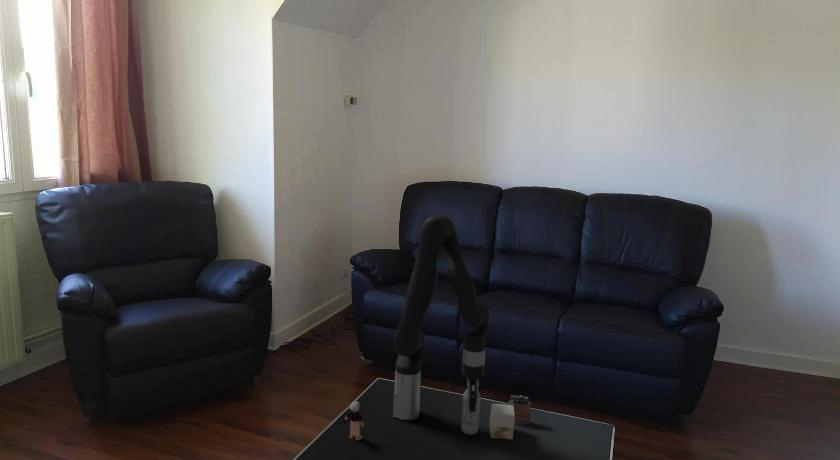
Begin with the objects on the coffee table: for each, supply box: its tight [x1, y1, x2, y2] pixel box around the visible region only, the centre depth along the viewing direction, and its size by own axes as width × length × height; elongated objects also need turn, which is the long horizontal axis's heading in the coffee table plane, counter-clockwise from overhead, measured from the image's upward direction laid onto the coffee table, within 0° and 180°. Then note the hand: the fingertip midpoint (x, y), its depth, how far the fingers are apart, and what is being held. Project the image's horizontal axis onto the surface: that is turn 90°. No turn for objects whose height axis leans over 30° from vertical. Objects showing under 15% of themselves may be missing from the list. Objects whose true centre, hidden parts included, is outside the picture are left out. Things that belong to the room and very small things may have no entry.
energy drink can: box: [460, 388, 481, 436], centre depth 209 cm, size 6×6×15 cm
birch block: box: [489, 417, 515, 440], centre depth 210 cm, size 8×8×4 cm
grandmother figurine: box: [344, 401, 365, 441], centre depth 203 cm, size 8×4×13 cm, turn 71°
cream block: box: [490, 403, 515, 428], centre depth 209 cm, size 8×8×4 cm
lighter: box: [507, 394, 532, 425], centre depth 217 cm, size 8×3×10 cm, turn 84°
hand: (471, 405), depth 209 cm, fingers open, 8 cm apart
